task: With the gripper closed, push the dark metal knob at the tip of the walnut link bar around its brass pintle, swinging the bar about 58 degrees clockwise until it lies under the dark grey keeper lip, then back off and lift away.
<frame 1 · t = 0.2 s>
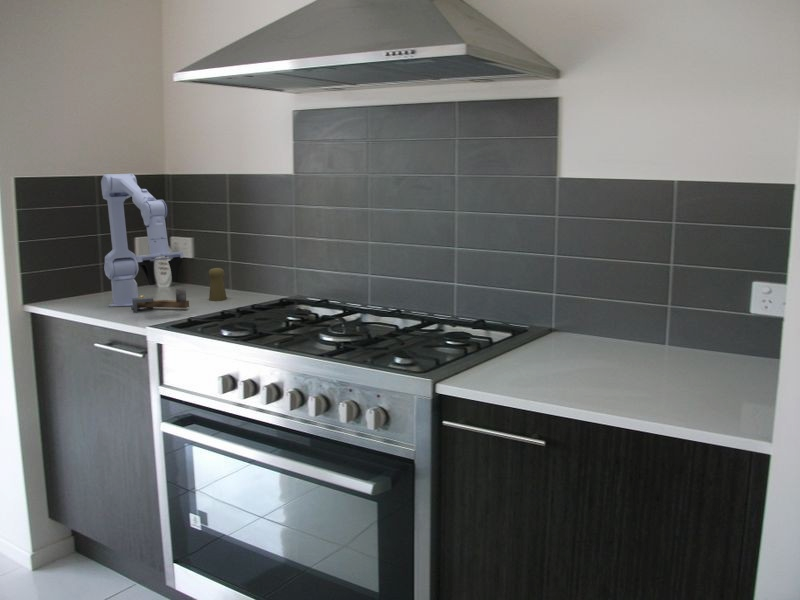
hand: (163, 283, 246), 10 cm above the worktop, tool pointing down, fingers open, 7 cm apart
cork: (218, 300, 278), on the worktop
keeper: (143, 304, 258), on the worktop
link: (161, 297, 261), point 4 cm above the worktop, hinge at 0.0°
pintle base: (142, 308, 263), on the worktop
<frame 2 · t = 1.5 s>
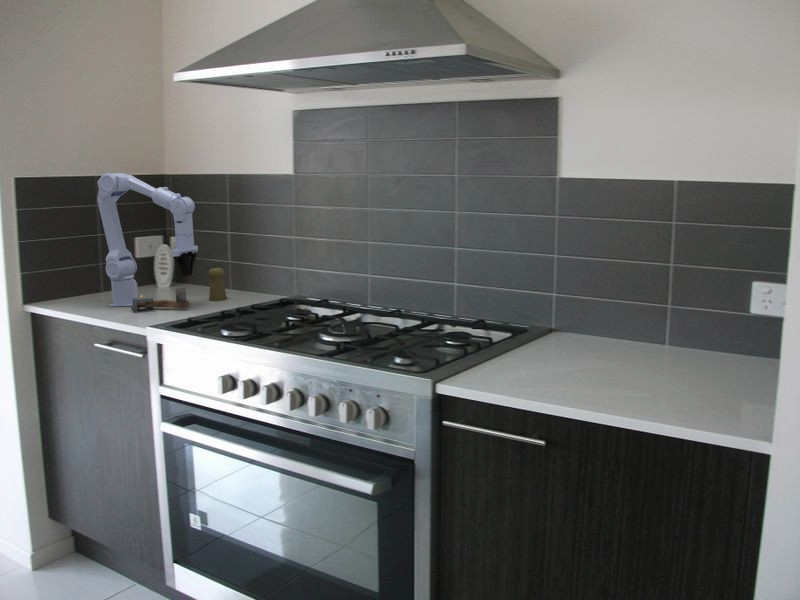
hand: (186, 275, 263), 10 cm above the worktop, tool pointing down, fingers closed
nothing on the worktop moved.
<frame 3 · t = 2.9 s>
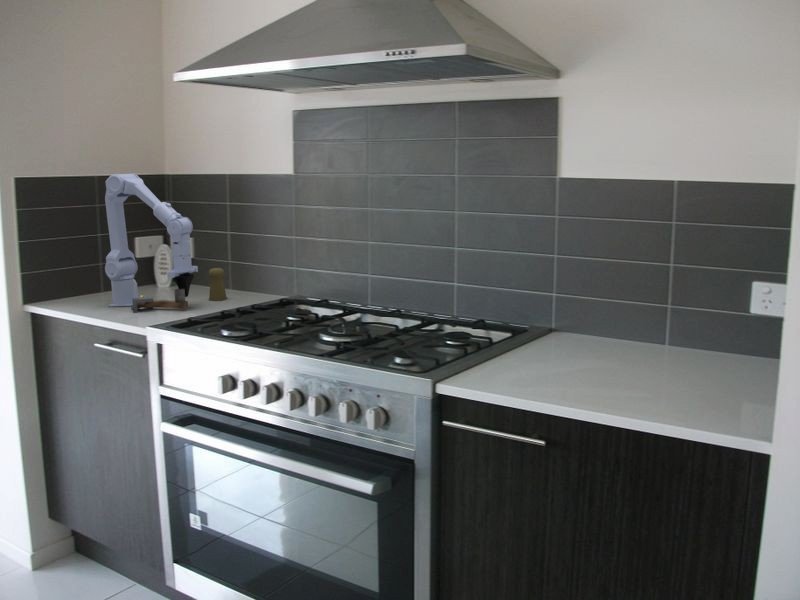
hand: (184, 296, 261), 4 cm above the worktop, tool pointing down, fingers closed
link: (160, 297, 260), point 4 cm above the worktop, hinge at -2.9°, touching gripper
everything else where it was.
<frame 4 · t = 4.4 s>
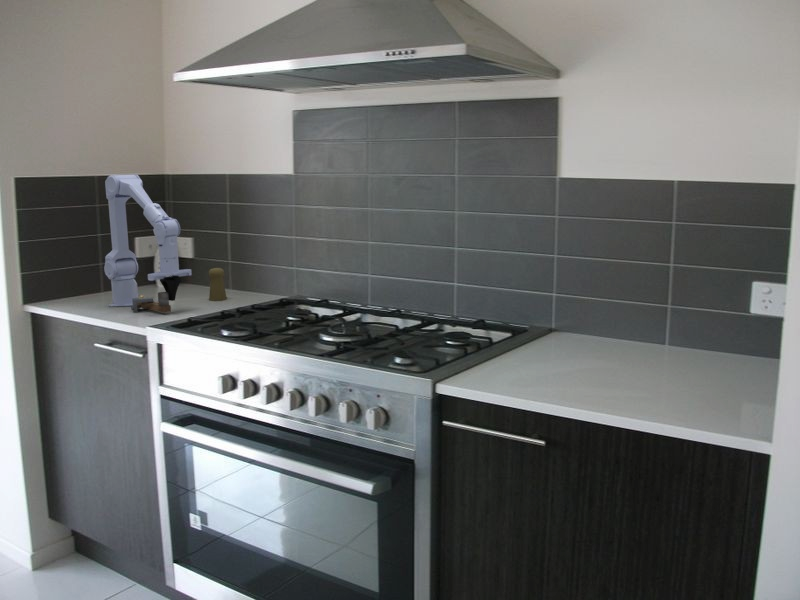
hand: (171, 300, 254), 4 cm above the worktop, tool pointing down, fingers closed
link: (152, 299, 257), point 4 cm above the worktop, hinge at -32.8°, touching gripper
everything else where it was.
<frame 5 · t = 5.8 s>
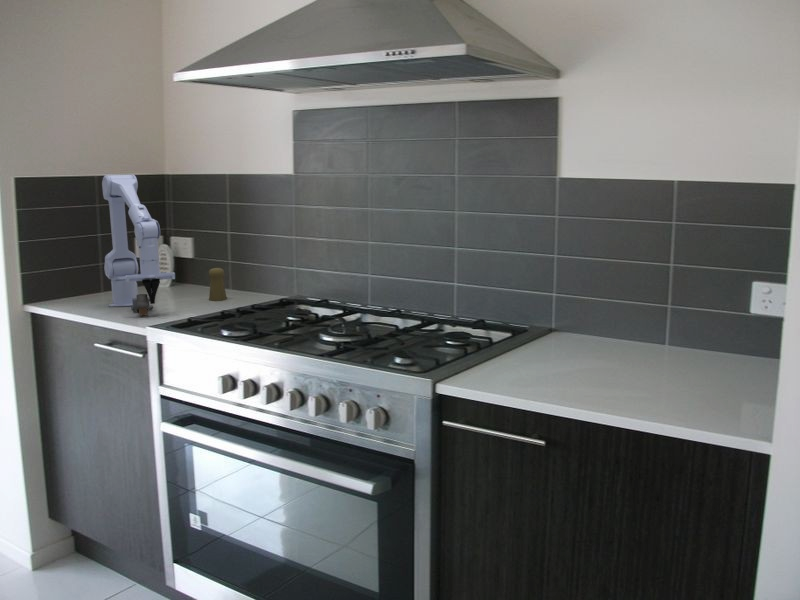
hand: (152, 303, 250), 4 cm above the worktop, tool pointing down, fingers closed
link: (142, 300, 256), point 4 cm above the worktop, hinge at -59.9°, touching gripper
everything else where it was.
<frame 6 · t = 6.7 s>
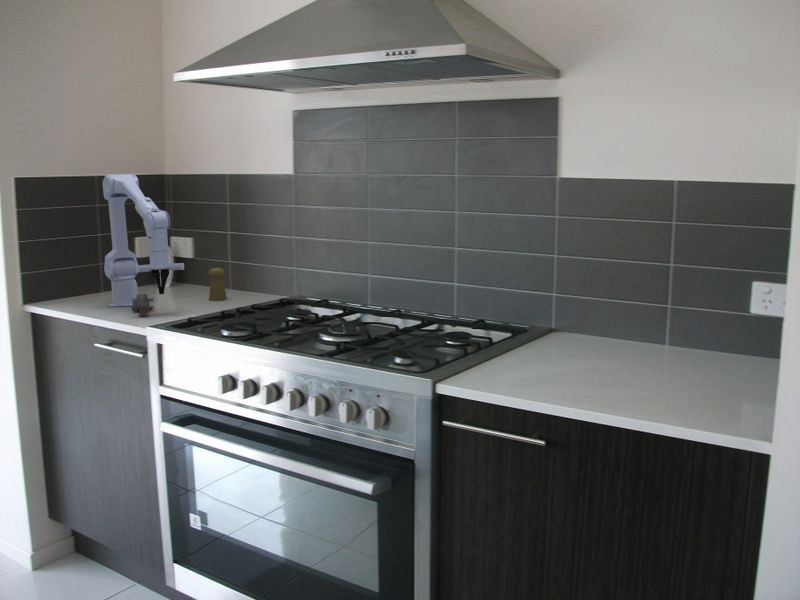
hand: (161, 293, 251), 7 cm above the worktop, tool pointing down, fingers closed
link: (142, 300, 256), point 4 cm above the worktop, hinge at -59.9°
everything else where it was.
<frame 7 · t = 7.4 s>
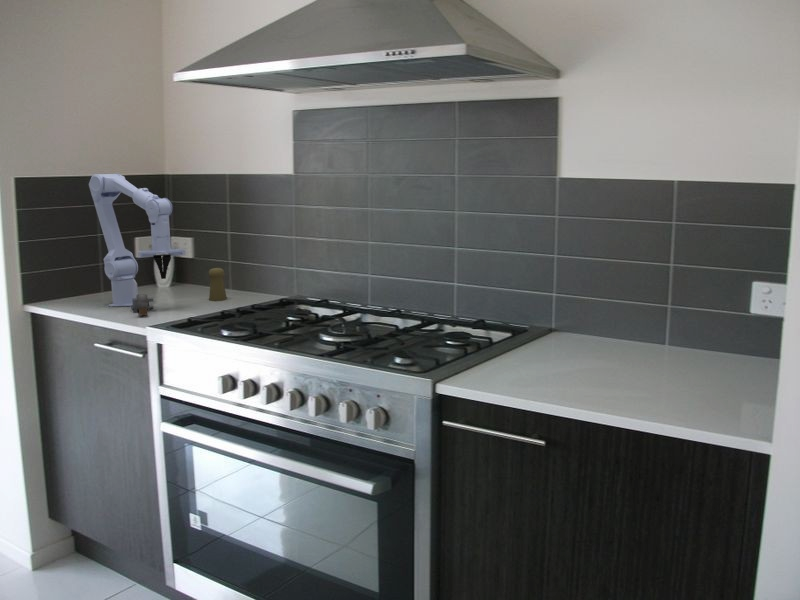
hand: (163, 278, 259), 10 cm above the worktop, tool pointing down, fingers closed
nothing on the worktop moved.
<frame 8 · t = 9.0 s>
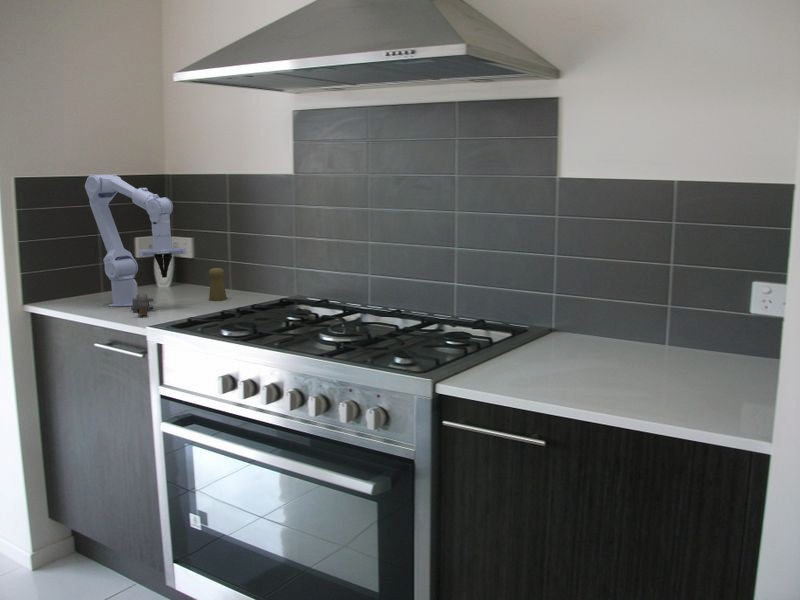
hand: (164, 277, 261), 10 cm above the worktop, tool pointing down, fingers closed
nothing on the worktop moved.
at the end: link at -60° (first picture: +0°); the gripper is holding nothing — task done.
